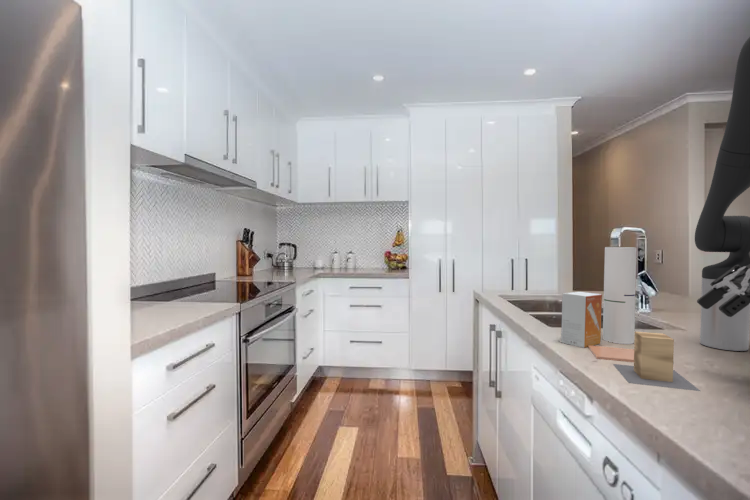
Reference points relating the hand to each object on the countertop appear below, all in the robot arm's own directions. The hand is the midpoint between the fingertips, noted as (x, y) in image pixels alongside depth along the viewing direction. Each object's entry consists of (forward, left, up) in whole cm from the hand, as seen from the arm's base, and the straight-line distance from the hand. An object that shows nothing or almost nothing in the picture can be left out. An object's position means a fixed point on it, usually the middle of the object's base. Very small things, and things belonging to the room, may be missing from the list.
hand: (711, 309), depth 72 cm
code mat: (0, -9, -14) cm, 17 cm away
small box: (-23, -18, -14) cm, 33 cm away
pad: (-14, -12, -14) cm, 23 cm away
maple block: (0, -9, -14) cm, 17 cm away
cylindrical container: (-30, -8, -14) cm, 34 cm away
